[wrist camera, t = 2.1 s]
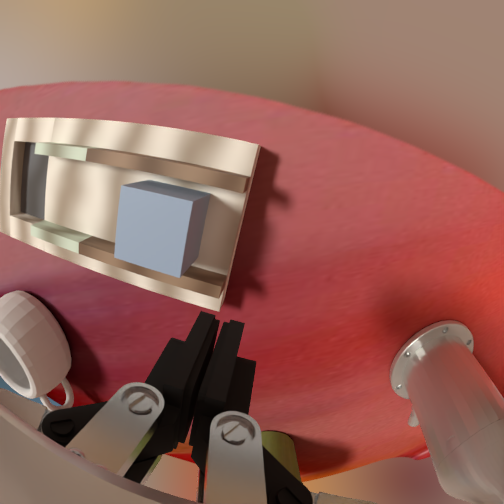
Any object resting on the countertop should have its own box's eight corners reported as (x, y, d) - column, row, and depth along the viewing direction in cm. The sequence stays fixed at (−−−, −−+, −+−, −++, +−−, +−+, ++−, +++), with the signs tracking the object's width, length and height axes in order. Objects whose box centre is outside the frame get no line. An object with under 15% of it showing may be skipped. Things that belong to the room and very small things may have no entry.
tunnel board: (260, 146, 25) (255, 142, 20) (224, 300, 30) (213, 324, 26) (19, 118, 26) (-7, 118, 22) (11, 227, 31) (-12, 236, 27)
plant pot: (243, 460, 40) (233, 513, 30) (224, 422, 37) (208, 484, 26) (312, 456, 38) (312, 512, 28) (305, 417, 35) (306, 484, 24)
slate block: (210, 193, 25) (192, 201, 20) (198, 257, 26) (179, 278, 22) (149, 179, 25) (121, 185, 20) (140, 240, 27) (114, 257, 22)
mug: (0, 300, 37) (-35, 324, 27) (36, 271, 33) (-11, 299, 24) (61, 393, 42) (35, 425, 32) (111, 388, 38) (82, 431, 29)
